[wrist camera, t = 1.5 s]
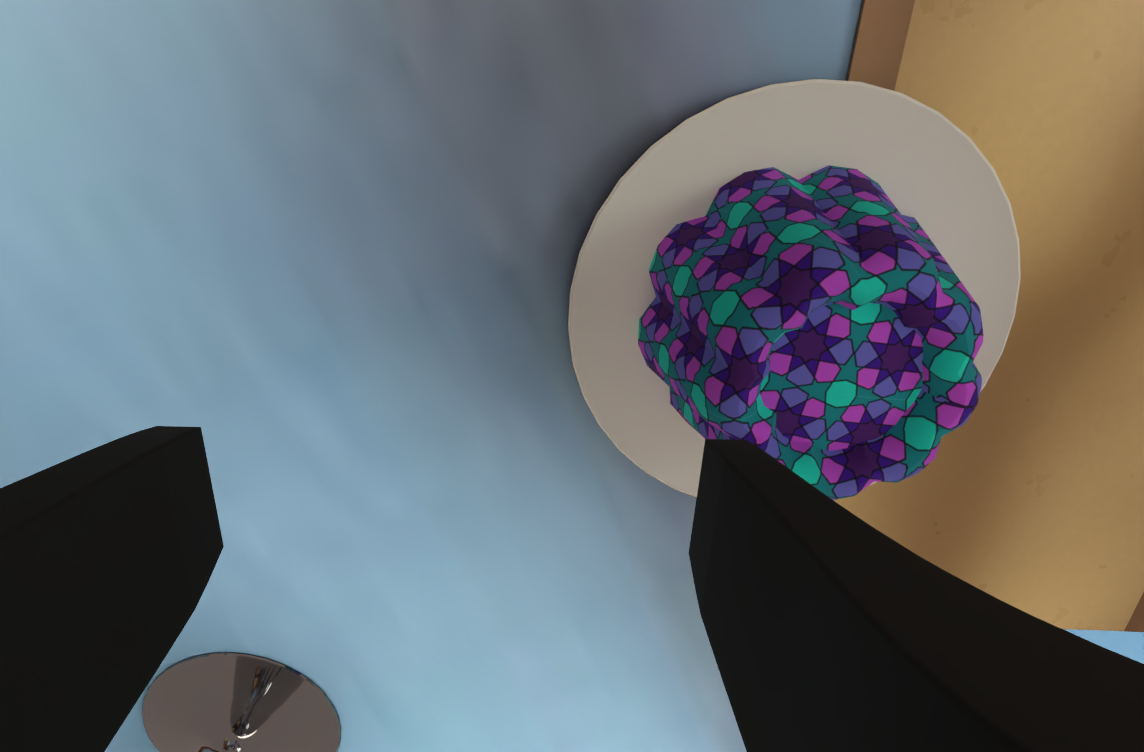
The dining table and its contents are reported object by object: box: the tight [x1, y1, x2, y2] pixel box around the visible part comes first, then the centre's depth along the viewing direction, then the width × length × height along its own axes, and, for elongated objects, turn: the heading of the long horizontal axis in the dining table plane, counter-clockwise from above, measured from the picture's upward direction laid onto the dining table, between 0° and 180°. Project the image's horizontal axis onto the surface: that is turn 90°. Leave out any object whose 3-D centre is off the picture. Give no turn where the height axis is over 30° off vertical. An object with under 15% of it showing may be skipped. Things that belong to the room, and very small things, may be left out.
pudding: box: [568, 79, 1021, 500], centre depth 17 cm, size 12×12×5 cm
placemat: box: [834, 0, 1144, 632], centre depth 20 cm, size 15×22×1 cm
